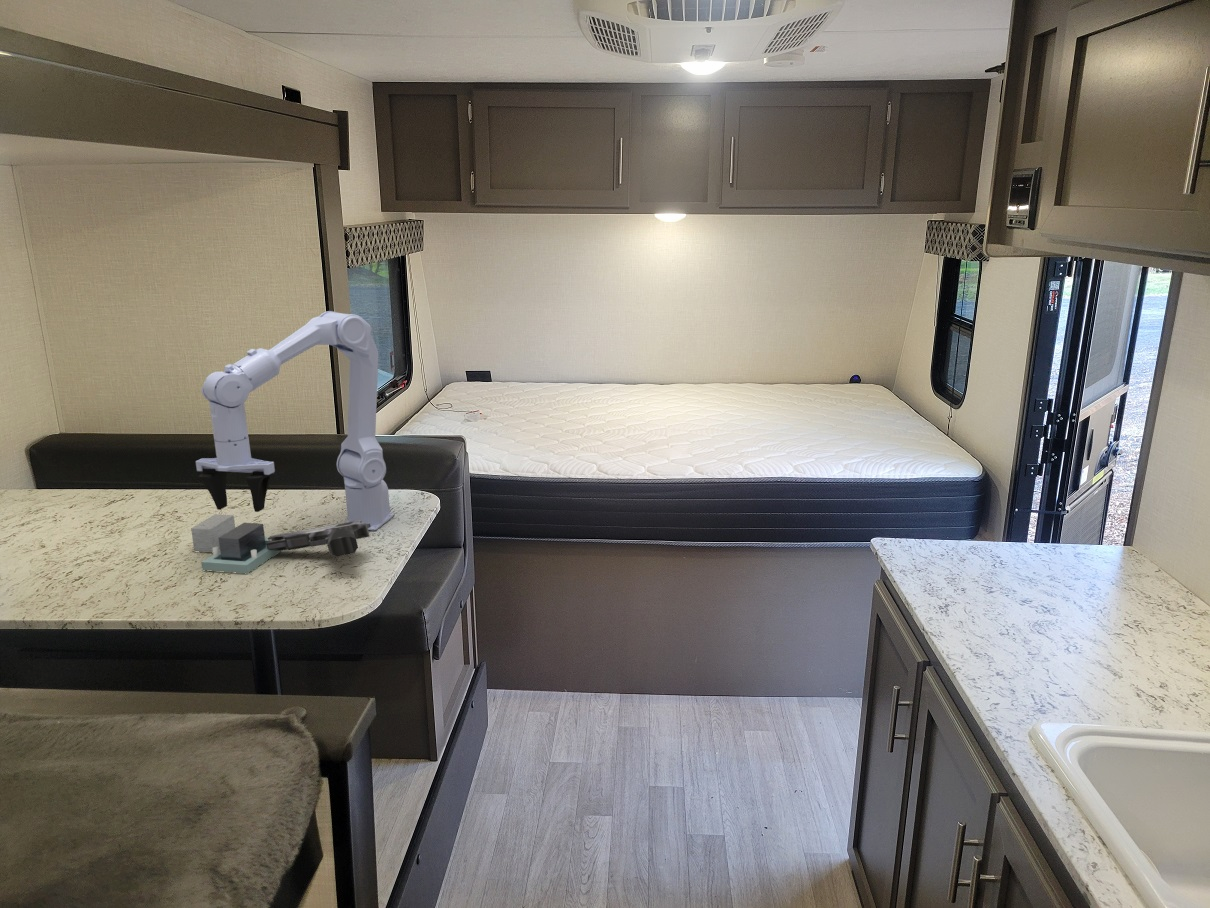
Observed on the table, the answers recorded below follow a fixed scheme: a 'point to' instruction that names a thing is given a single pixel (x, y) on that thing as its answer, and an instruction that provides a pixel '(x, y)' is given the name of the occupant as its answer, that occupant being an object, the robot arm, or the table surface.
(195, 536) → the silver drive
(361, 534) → the handgun
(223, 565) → the tray
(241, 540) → the dark grey rectangular block
